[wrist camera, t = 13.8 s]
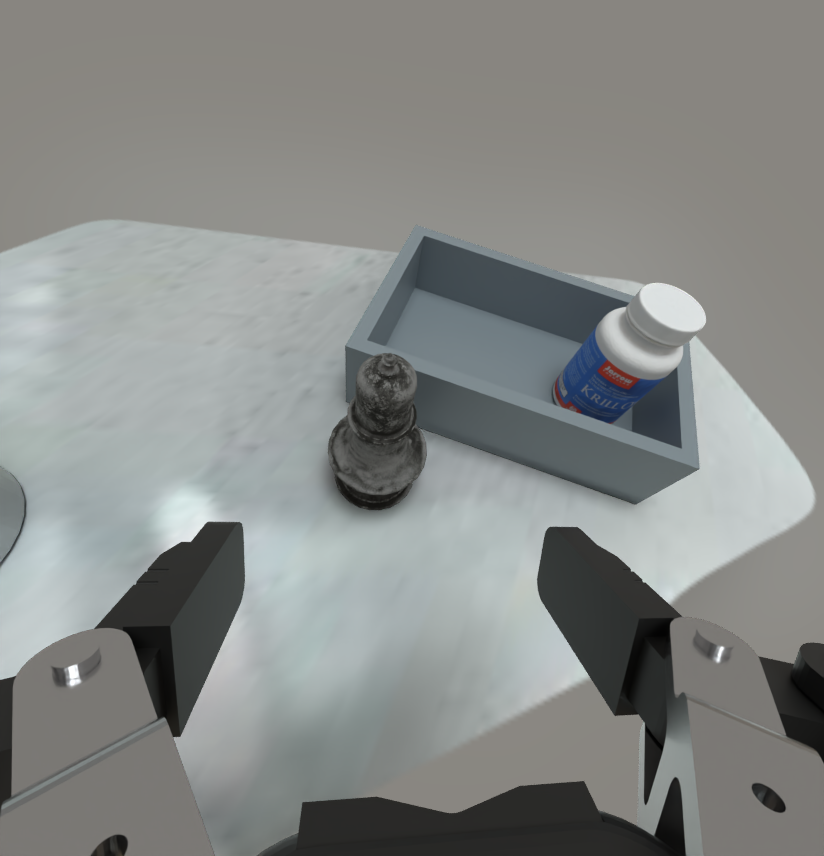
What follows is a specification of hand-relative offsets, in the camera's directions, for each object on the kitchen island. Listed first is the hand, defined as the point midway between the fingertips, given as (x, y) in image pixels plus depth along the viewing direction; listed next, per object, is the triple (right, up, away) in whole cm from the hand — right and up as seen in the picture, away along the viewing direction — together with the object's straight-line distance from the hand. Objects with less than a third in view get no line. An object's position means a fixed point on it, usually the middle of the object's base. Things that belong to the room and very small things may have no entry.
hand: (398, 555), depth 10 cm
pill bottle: (+14, +5, +21) cm, 25 cm away
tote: (+8, +7, +22) cm, 24 cm away
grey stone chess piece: (-2, 0, +16) cm, 16 cm away
